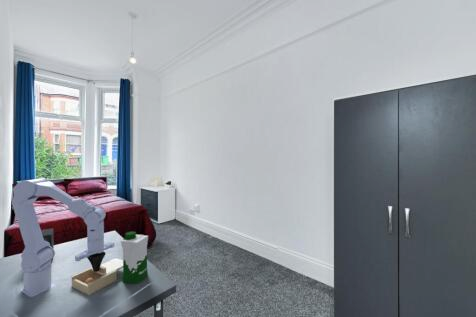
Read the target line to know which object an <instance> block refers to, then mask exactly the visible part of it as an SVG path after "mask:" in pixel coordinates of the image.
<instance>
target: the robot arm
mask: <svg viewBox="0 0 476 317" xmlns="http://www.w3.org/2000/svg"><path fill="white" fill-rule="evenodd" d="M12 192H13V197H12V201H11V202H12V203H11V204H12V208H13V212H14V214H15V217H16V220H17V225H18V228H19V231H20V234H21V238H22V240H23V244H24V249H23V251H22V253H21V254H20V258H21V262H20V268H21V269H22V270H23V271H24V272H23V276H22V277H23V278H22V279H23V280H22V281H23V288H21V289H20V292H22V293H23V294H25V295H27V296H28V297H29V298H33V297H36V296H37V295H40V294H42V293H43V292H45V291H48V290H51V289H53V288H55V287H56V286H57V284H55V283H53V282H52V263H51V259H52V258H53V259H54V258H55V255H56V250H55V249H53V248H52V247H51V246H50V243H49V242H47V241H44V239H43V236H42V232H41V230H42V229H41V227H40V223H39V219H38V216H37V213H36V209H35V206H34V203H35V202H36V201H37V199H38V198H39V197H49V198H50V199H51V198H52V199H54V200H55V201H57V202H59V203H61V204H63V205H65V206H67V210H68V211H69V212H71V213H73V214H75V215H76V216H78V217H79V218H81V219H82V220H83V222H84V223H85V225H86V227H87V228H86V231H87V237H86V238H87V247H86V248H87V249H86V250H84V251H82V252H80V253H78V254H76V255H74V261H75V262H80V261H81V260H84V259H86V258H87V260H88V261H89V263H90V265H91V268H93V271H95V272H97V271H99V269H100V265H101V264H102V262H103V260H104V258H105V256H106V252H105V251H106V250H109V249H113V248H115V242H112V241H111V242H108V243H105V232H104V231H105V229H104V228H105V223H104V219H105V218H106V214H107V213H106V211H105V209H103V208H102V207H101V206H100V207H99V206H96V205H92V204H90V203H89V202H87V199H85V198H74V197H73V196H71V195H70V194H68V193H67V192H65V191H64V190H62V189H61V188H59V187H58V186H56V185H55V183H54V182H52V181H49V180H48V179H47V178H45V177H38V178H33V179H26V180H25V179H23V180H21V181H19V182H18V183H17V184H16V185H14V187H13V188H12Z"/></svg>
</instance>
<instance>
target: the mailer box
mask: <svg viewBox="0 0 476 317" xmlns="http://www.w3.org/2000/svg"><path fill="white" fill-rule="evenodd" d="M117 272H118V270H117V271H116V270H115V271H113V272H111V273H109V274H107V275H105V276H104V275H101V274H99V273H97V272H94V271H92V267H90V268H87V269H85V270H83V271H81V272H79V273H76V274H74V275H72V276H71V287H72V288H74V289H76V290H78V291H80V292H82V293H84V294H85V295H87V296H90V295H92V294H94V293H96V292H98V291H99V290H101V289H104V288H105V287H107V286H108V285H110V284H112V283H114V282H116V281H117ZM88 278H93V279H94V281H93V282H91V283H89V284H85V281H86V280H87V279H88Z"/></svg>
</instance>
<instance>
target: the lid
mask: <svg viewBox="0 0 476 317" xmlns="http://www.w3.org/2000/svg"><path fill="white" fill-rule="evenodd" d="M91 268H92V267H91ZM121 269H123V259H120V258H117V257H116V258H115V257H114V258H113V259H111V260H107V261H106V262H104V263H101V265H100V269H99V271H97V273H99V274H101V275H104V276H105V275H107V274H109V273H111V272H113V271H115V270H116V271H117V272H118V271H119V270H121ZM92 271H93V268H92ZM94 272H95V271H94Z"/></svg>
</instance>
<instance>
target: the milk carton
mask: <svg viewBox="0 0 476 317" xmlns="http://www.w3.org/2000/svg"><path fill="white" fill-rule="evenodd" d="M148 241H149V235H144V234H137V232H136V231H127V232H125V238H123V239H122V240H120V244H121V248H122V260H123V268H122V283H128V284H135V285H138V284H139V283H140V282H142V281H143V280H144V279H146V277H147V276H148V275H149V274H148V273H149V272H148Z"/></svg>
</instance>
